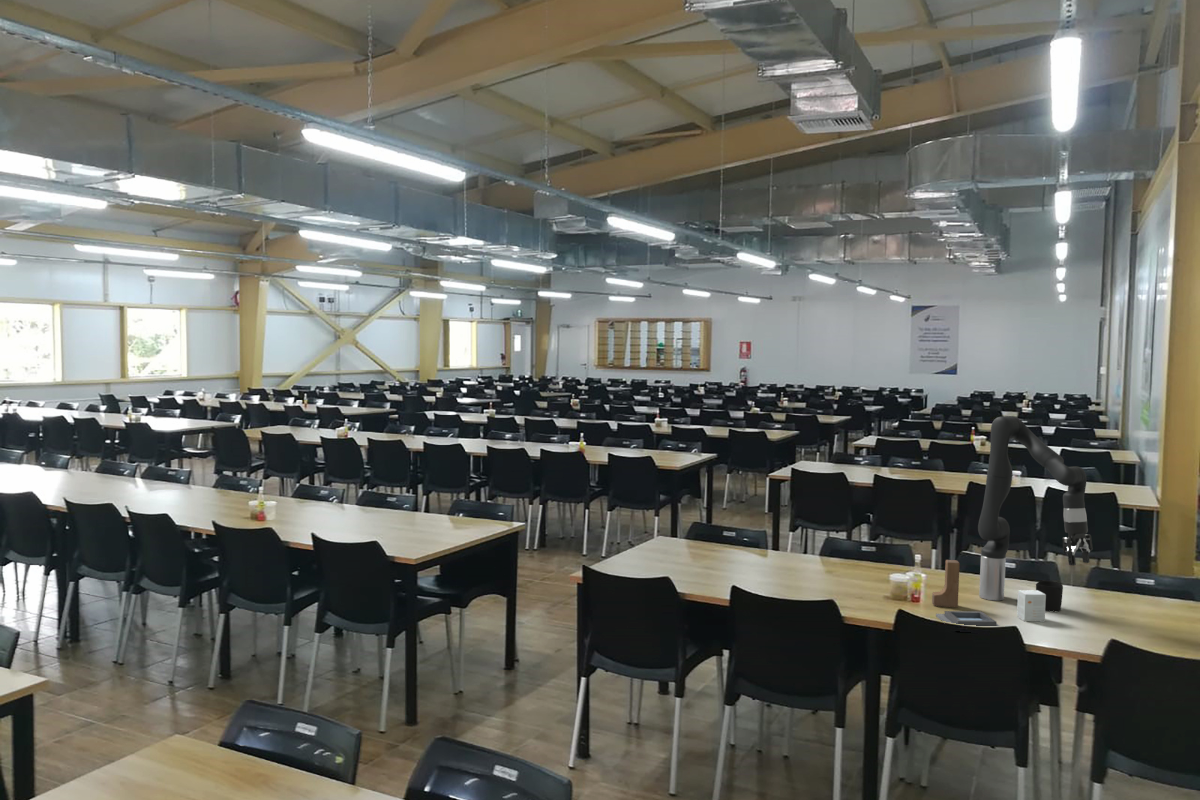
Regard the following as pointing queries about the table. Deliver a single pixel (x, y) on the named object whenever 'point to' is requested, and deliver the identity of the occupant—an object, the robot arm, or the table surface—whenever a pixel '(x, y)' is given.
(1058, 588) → the pen holder
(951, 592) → the wooden block
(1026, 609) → the small box
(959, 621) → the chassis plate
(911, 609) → the table surface
